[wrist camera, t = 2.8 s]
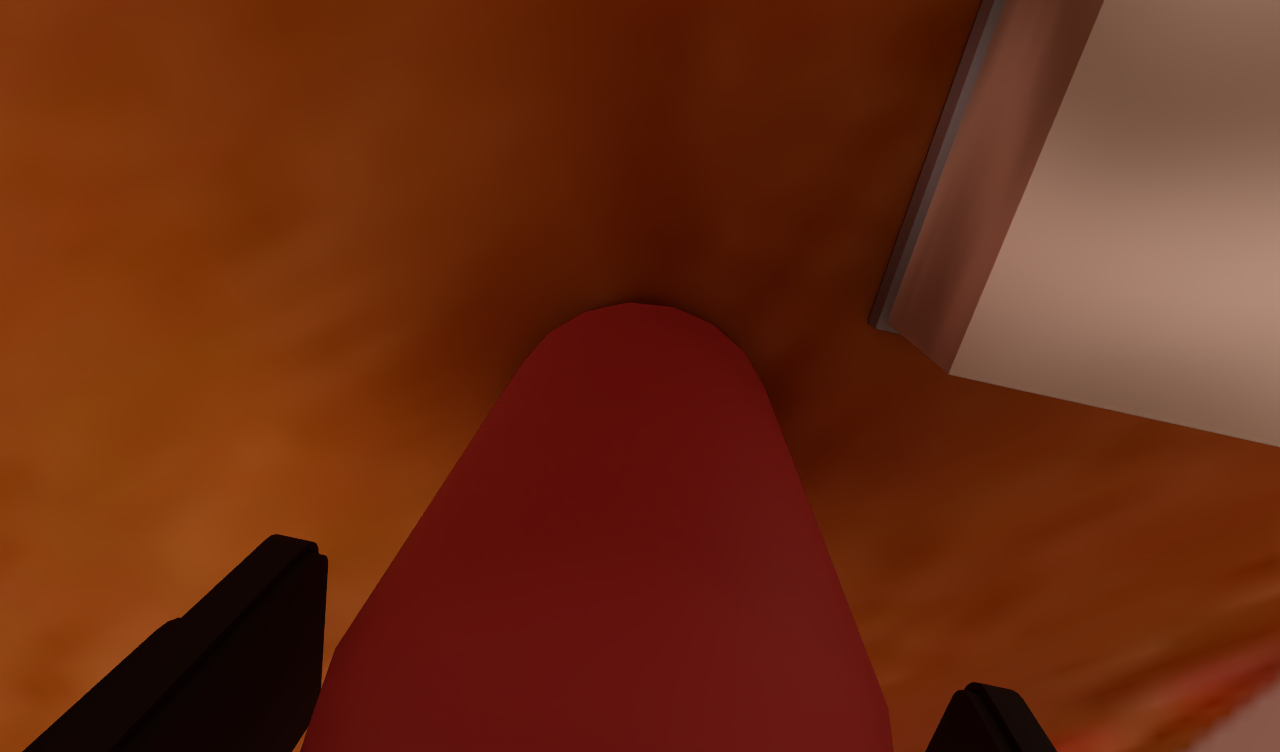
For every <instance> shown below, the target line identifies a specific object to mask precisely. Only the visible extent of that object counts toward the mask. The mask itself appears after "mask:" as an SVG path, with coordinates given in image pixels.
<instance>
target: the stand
mask: <svg viewBox="0 0 1280 752" xmlns="http://www.w3.org/2000/svg"><path fill="white" fill-rule="evenodd" d="M868 323H870V324H871V325H872V326H873V327H874V328H875V329H878V330H883V331H887V332H892V333H896V334H901V335H902V336H903V337H904V338H906V339H907V340H908V341H909V342H910V343H912V344H913V345H914V346H915V347H916V348H918V349H919V350H920V351H921V352H922V353H923V354H925V355H926V356H927V357H928V358H929V359H931V360H932V361H933V362H934V363H935V364H936V365H938V366H939V367H940V368H941V369H942V370H944V371H945V372H946V373H947V374H949V375H953V376H958V377H962V378H967V379H971V380H976V381H981V382H985V383H990V384H994V385H999V386H1003V387H1008V388H1013V389H1017V390H1022V391H1026V392H1031V393H1035V394H1040V395H1045V396H1049V397H1054V398H1058V399H1063V400H1067V401H1072V402H1077V403H1081V404H1086V405H1090V406H1095V407H1100V408H1104V409H1109V410H1113V411H1118V412H1122V413H1127V414H1132V415H1136V416H1141V417H1145V418H1150V419H1154V420H1159V421H1164V422H1168V423H1173V424H1177V425H1182V426H1186V427H1191V428H1196V429H1200V430H1205V431H1209V432H1214V433H1218V434H1223V435H1228V436H1232V437H1237V438H1241V439H1246V440H1250V441H1255V442H1260V443H1264V444H1269V445H1273V446H1278V447H1280V0H982V3H981V5H980V8H979V11H978V14H977V17H976V20H975V22H974V25H973V28H972V31H971V34H970V36H969V39H968V42H967V45H966V48H965V50H964V53H963V56H962V59H961V62H960V64H959V67H958V70H957V73H956V76H955V78H954V81H953V84H952V87H951V90H950V92H949V95H948V98H947V101H946V104H945V107H944V109H943V112H942V115H941V118H940V121H939V123H938V126H937V129H936V132H935V135H934V137H933V140H932V143H931V146H930V149H929V151H928V154H927V157H926V160H925V163H924V165H923V168H922V171H921V174H920V177H919V179H918V182H917V185H916V188H915V191H914V194H913V196H912V199H911V202H910V205H909V208H908V210H907V213H906V216H905V219H904V222H903V224H902V227H901V230H900V233H899V236H898V238H897V241H896V244H895V247H894V250H893V252H892V255H891V258H890V261H889V264H888V266H887V269H886V272H885V275H884V278H883V281H882V283H881V286H880V289H879V292H878V295H877V297H876V300H875V303H874V306H873V309H872V311H871V314H870V317H869V320H868Z"/></svg>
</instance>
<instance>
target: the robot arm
mask: <svg viewBox="0 0 1280 752" xmlns="http://www.w3.org/2000/svg"><path fill="white" fill-rule="evenodd" d="M327 574H328V559H327V556H325V555H321V554H319V552H318V546H317V544H316V543H314V542H311V541H307V540H302V539H297V538H293V537H288V536H283V535H278V534H275V535H271V536H270V537H268V538H267V539H266V540H265V541H264V542H263V543H261V544H260V545H259V546H258V547H257V548H256V549H255V550H254V551H253V552H252V553H251V554H250V555H249V556H247V557H246V558H245V559H244V560H243V561H242V562H241V563H240V564H239V565H238V566H237V567H236V568H234V569H233V570H232V571H231V572H230V573H229V574H228V575H227V576H226V577H225V578H224V579H223V580H222V581H220V582H219V583H218V584H217V585H216V586H215V587H214V588H213V589H212V590H211V591H210V592H209V593H208V594H206V595H205V596H204V597H203V598H202V599H201V600H200V601H199V602H198V603H197V604H196V605H195V606H194V607H192V608H191V609H190V610H189V611H188V612H187V613H186V614H185V615H184V616H183V617H182V618H176V619H174V620H171V621H168V622H167V623H165V624H164V625H163V626H161V627H160V628H159V629H157V630H156V631H155V632H154V633H153V634H152V635H150V636H149V637H148V638H147V639H146V640H145V641H144V642H143V643H142V644H140V645H139V646H138V647H137V648H136V649H135V650H134V651H133V652H132V653H131V654H129V655H128V656H127V657H126V658H125V659H124V660H123V661H122V662H121V663H120V664H118V665H117V666H116V667H115V668H114V669H113V670H112V671H111V672H110V673H108V674H107V675H106V676H105V677H104V678H103V679H102V680H101V681H100V682H99V683H97V684H96V685H95V686H94V687H93V688H92V689H91V690H90V691H89V692H88V693H86V694H85V695H84V696H83V697H82V698H81V699H80V700H79V701H78V702H77V703H75V704H74V705H73V706H72V707H71V708H70V709H69V710H68V711H67V712H65V713H64V714H63V715H62V716H61V717H60V718H59V719H58V720H57V721H56V722H54V723H53V724H52V725H51V726H50V727H49V728H48V729H47V730H46V731H45V732H43V733H42V734H41V735H40V736H39V737H38V738H37V739H36V740H35V741H33V742H32V743H31V744H30V745H29V746H28V747H27V748H26V749H25V750H24V751H22V752H292V751H293V749H294V748H295V746H296V745H297V743H298V742H299V740H300V738H301V737H302V735H303V734H304V732H305V731H306V729H307V728H308V726H309V724H310V720H311V717H312V714H313V711H314V709H315V706H316V703H317V700H318V697H319V694H320V691H321V678H322V660H323V643H324V626H325V609H326V591H327ZM925 752H1057V751H1056V749H1055V748H1054V746H1053V745H1052V743H1051V742H1050V740H1049V738H1048V737H1047V735H1046V734H1045V732H1044V731H1043V729H1042V728H1041V726H1040V725H1039V723H1038V722H1037V720H1036V718H1035V717H1034V715H1033V714H1032V712H1031V711H1030V709H1029V708H1028V706H1027V705H1026V703H1025V701H1024V700H1023V699H1022V697H1021V696H1020V695H1019V694H1018V693H1017V692H1015V691H1013V690H1010V689H1005V688H1001V687H996V686H991V685H986V684H982V683H975V682H972V683H970V684H968V685H967V686H966V688H965V689H964V690H958V691H957V692H955V694H954V695H953V697H952V699H951V701H950V703H949V705H948V707H947V709H946V711H945V713H944V715H943V717H942V719H941V721H940V723H939V725H938V727H937V729H936V731H935V733H934V735H933V737H932V739H931V741H930V743H929V745H928V747H927V749H926V751H925Z"/></svg>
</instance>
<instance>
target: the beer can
mask: <svg viewBox="0 0 1280 752" xmlns="http://www.w3.org/2000/svg"><path fill="white" fill-rule="evenodd" d="M300 752H894V751H893V743H892V735H891V727H890V719H889V711H888V706H887V704H886V701H885V699H884V696H883V693H882V691H881V688H880V686H879V683H878V680H877V678H876V675H875V673H874V670H873V667H872V665H871V662H870V660H869V657H868V654H867V652H866V649H865V647H864V644H863V641H862V639H861V636H860V634H859V631H858V628H857V626H856V623H855V621H854V618H853V615H852V613H851V610H850V608H849V605H848V602H847V600H846V597H845V595H844V592H843V589H842V587H841V584H840V582H839V579H838V576H837V574H836V571H835V569H834V566H833V563H832V561H831V558H830V556H829V553H828V551H827V548H826V545H825V543H824V540H823V538H822V535H821V532H820V530H819V527H818V525H817V522H816V519H815V517H814V514H813V512H812V509H811V506H810V504H809V501H808V499H807V496H806V493H805V491H804V488H803V486H802V483H801V480H800V478H799V475H798V473H797V470H796V467H795V465H794V462H793V460H792V457H791V454H790V452H789V449H788V447H787V444H786V441H785V439H784V436H783V434H782V431H781V428H780V426H779V423H778V421H777V418H776V415H775V413H774V410H773V408H772V405H771V402H770V400H769V397H768V395H767V392H766V389H765V387H764V386H763V384H762V382H761V380H760V378H759V377H758V375H757V373H756V371H755V369H754V368H753V366H752V364H751V362H750V360H749V359H748V357H747V355H746V353H745V352H744V351H743V350H741V349H740V348H739V347H738V346H737V345H736V344H735V343H734V342H732V341H731V340H730V339H729V338H728V337H727V336H726V335H725V334H723V333H722V332H721V331H720V330H719V329H718V328H717V327H716V326H715V325H713V324H711V323H709V322H706V321H704V320H702V319H699V318H697V317H695V316H693V315H690V314H688V313H686V312H683V311H681V310H679V309H677V308H674V307H668V306H659V305H649V304H639V303H630V302H628V303H623V304H618V305H614V306H609V307H604V308H599V309H594V310H590V311H585V312H583V313H582V314H580V315H578V316H577V317H575V318H573V319H571V320H570V321H568V322H566V323H564V324H563V325H561V326H559V327H557V328H556V329H554V330H552V331H550V332H549V333H548V334H547V335H546V336H545V337H544V338H543V340H542V341H541V342H540V343H539V344H538V345H537V346H536V348H535V349H534V350H533V351H532V352H531V353H530V355H529V356H528V357H527V358H526V359H525V360H524V361H523V363H522V364H521V365H520V367H519V369H518V370H517V372H516V373H515V375H514V376H513V378H512V379H511V381H510V382H509V384H508V385H507V387H506V388H505V390H504V391H503V393H502V395H501V396H500V398H499V399H498V401H497V402H496V404H495V405H494V407H493V408H492V410H491V411H490V413H489V414H488V416H487V418H486V419H485V421H484V422H483V424H482V425H481V427H480V428H479V430H478V431H477V433H476V434H475V436H474V437H473V439H472V440H471V442H470V444H469V445H468V447H467V448H466V450H465V451H464V453H463V454H462V456H461V457H460V459H459V460H458V462H457V463H456V465H455V466H454V468H453V470H452V471H451V473H450V474H449V476H448V477H447V479H446V480H445V482H444V483H443V485H442V486H441V488H440V489H439V491H438V492H437V494H436V496H435V497H434V499H433V500H432V502H431V503H430V505H429V506H428V508H427V509H426V511H425V512H424V514H423V515H422V517H421V518H420V520H419V522H418V523H417V525H416V526H415V528H414V529H413V531H412V532H411V534H410V535H409V537H408V538H407V540H406V541H405V543H404V544H403V546H402V548H401V549H400V551H399V552H398V554H397V555H396V557H395V558H394V560H393V561H392V563H391V564H390V566H389V567H388V569H387V570H386V572H385V574H384V575H383V577H382V578H381V580H380V581H379V583H378V584H377V586H376V587H375V589H374V590H373V592H372V593H371V595H370V596H369V598H368V600H367V601H366V603H365V604H364V606H363V607H362V609H361V610H360V612H359V613H358V615H357V616H356V618H355V619H354V621H353V622H352V624H351V626H350V627H349V629H348V630H347V632H346V633H345V635H344V636H343V638H342V639H341V641H340V642H339V644H338V645H337V647H336V648H335V651H334V654H333V657H332V660H331V663H330V666H329V668H328V671H327V674H326V677H325V680H324V683H323V686H322V689H321V691H320V694H319V697H318V700H317V703H316V706H315V709H314V711H313V714H312V717H311V720H310V724H309V727H308V730H307V733H306V736H305V739H304V742H303V745H302V748H301V751H300Z"/></svg>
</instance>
